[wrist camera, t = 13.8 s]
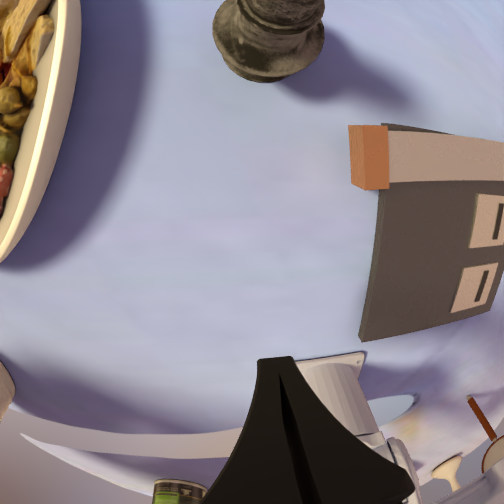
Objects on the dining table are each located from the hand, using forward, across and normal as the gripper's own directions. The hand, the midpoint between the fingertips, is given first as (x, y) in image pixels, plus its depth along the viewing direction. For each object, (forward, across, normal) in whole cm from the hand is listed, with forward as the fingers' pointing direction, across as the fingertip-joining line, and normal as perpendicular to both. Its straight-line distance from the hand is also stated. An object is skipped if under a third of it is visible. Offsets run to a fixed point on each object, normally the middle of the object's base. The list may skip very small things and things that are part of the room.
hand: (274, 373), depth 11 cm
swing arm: (+8, -15, -8) cm, 19 cm away
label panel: (+10, -18, -1) cm, 21 cm away
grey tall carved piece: (+11, -1, -15) cm, 18 cm away
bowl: (+11, +25, -17) cm, 32 cm away
